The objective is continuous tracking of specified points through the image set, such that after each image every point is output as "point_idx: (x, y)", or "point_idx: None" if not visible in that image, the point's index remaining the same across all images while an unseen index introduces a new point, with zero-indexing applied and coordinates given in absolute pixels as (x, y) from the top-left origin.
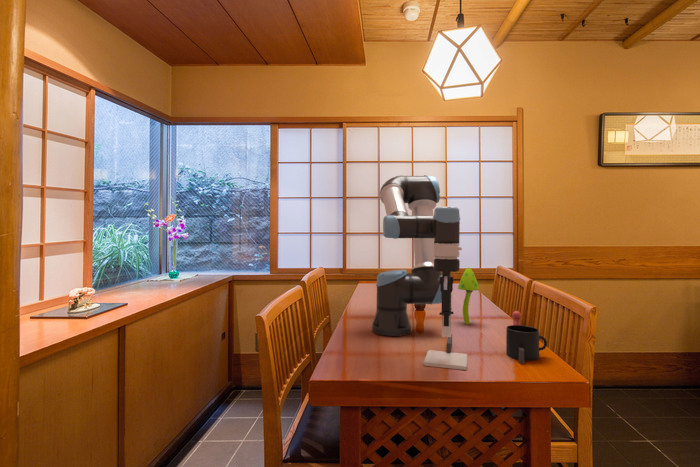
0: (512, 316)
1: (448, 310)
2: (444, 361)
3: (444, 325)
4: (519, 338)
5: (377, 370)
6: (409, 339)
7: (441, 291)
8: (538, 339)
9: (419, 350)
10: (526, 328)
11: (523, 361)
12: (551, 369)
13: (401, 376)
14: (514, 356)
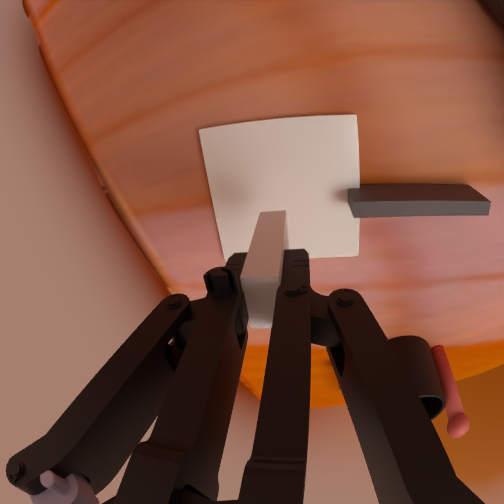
0: (460, 417)
1: (165, 349)
2: (240, 194)
3: (232, 258)
4: None
5: (101, 32)
6: (489, 41)
7: (50, 430)
8: None
9: (376, 77)
10: (432, 413)
11: None
12: (316, 391)
13: (93, 106)
14: None
